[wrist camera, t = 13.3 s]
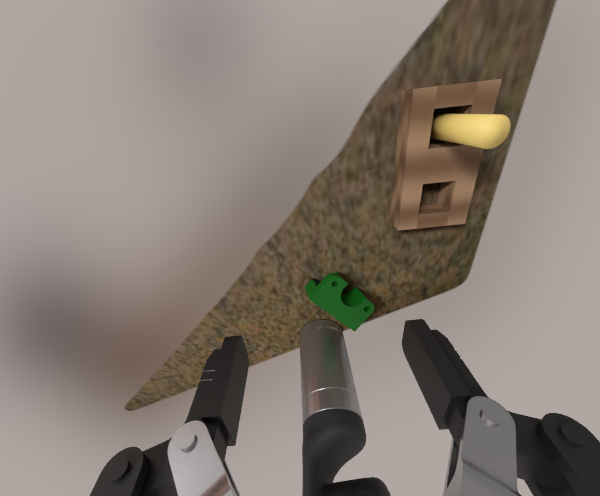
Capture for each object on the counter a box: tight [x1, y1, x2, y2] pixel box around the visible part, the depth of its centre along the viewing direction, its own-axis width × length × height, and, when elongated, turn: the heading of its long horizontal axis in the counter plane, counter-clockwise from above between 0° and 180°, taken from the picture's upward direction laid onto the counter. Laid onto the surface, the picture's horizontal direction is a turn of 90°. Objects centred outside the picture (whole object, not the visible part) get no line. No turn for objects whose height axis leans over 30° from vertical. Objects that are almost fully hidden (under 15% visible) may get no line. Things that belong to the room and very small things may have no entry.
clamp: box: [305, 272, 374, 331], centre depth 44 cm, size 12×6×9 cm, turn 41°
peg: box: [430, 113, 511, 149], centre depth 28 cm, size 3×3×11 cm
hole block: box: [390, 79, 502, 231], centre depth 34 cm, size 18×10×4 cm, turn 6°
